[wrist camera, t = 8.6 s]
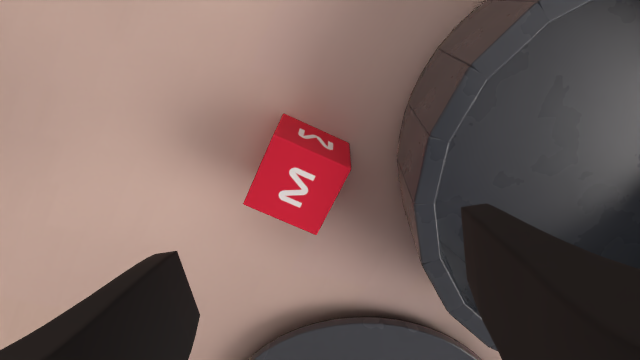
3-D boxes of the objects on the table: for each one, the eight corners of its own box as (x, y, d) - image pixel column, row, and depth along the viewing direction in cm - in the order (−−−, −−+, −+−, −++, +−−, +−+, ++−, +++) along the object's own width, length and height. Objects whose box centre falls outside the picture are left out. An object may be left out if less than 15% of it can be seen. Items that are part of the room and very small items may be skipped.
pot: (737, 272, 20) (851, 349, 16) (417, 314, 22) (438, 396, 17) (803, -89, 15) (1003, -126, 10) (373, 1, 16) (387, 3, 12)
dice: (283, 113, 18) (273, 134, 15) (349, 143, 19) (351, 169, 16) (256, 174, 19) (242, 204, 16) (319, 201, 20) (316, 235, 17)
